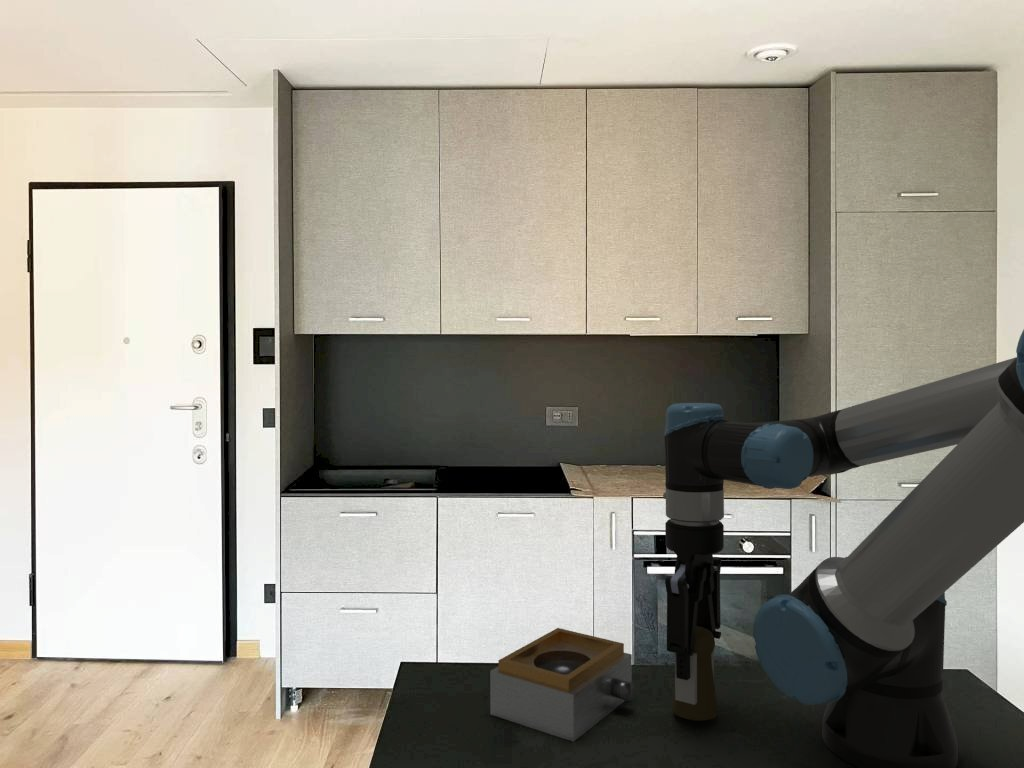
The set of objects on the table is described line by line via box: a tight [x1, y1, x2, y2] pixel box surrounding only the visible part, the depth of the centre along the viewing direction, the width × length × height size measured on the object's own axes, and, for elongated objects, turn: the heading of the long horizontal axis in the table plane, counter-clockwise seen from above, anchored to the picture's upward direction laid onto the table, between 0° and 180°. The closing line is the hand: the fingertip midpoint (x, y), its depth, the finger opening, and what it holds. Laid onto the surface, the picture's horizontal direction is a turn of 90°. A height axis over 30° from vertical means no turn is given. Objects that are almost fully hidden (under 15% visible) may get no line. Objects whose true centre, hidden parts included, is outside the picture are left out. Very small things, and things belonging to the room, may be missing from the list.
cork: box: [671, 626, 719, 721], centre depth 106 cm, size 6×6×11 cm
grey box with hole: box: [489, 627, 636, 743], centre depth 110 cm, size 15×16×8 cm
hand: (694, 692), depth 106 cm, fingers closed on cork, 5 cm apart
